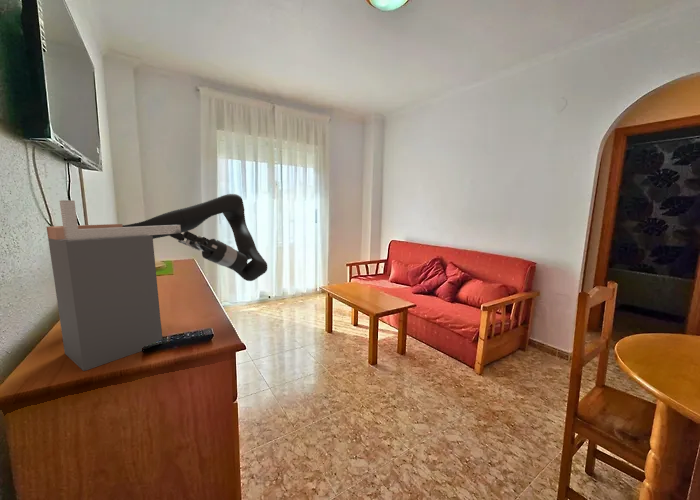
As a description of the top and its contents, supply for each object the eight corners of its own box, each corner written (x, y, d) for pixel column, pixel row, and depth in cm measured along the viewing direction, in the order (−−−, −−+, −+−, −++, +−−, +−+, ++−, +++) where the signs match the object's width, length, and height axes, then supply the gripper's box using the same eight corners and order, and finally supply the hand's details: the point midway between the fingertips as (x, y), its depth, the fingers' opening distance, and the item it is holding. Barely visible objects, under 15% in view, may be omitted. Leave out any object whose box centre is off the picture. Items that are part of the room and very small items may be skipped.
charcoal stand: (64, 353, 81) (46, 226, 77) (139, 331, 96) (128, 223, 91) (83, 371, 73) (64, 228, 68) (162, 343, 87) (151, 225, 82)
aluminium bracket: (64, 240, 72) (59, 200, 71) (176, 232, 93) (173, 202, 92) (68, 240, 70) (63, 200, 69) (181, 233, 92) (178, 202, 90)
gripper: (213, 242, 110) (171, 221, 97) (236, 245, 102) (194, 222, 89) (204, 261, 108) (160, 242, 95) (227, 265, 100) (183, 245, 87)
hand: (177, 233), depth 92 cm, fingers open, 8 cm apart
